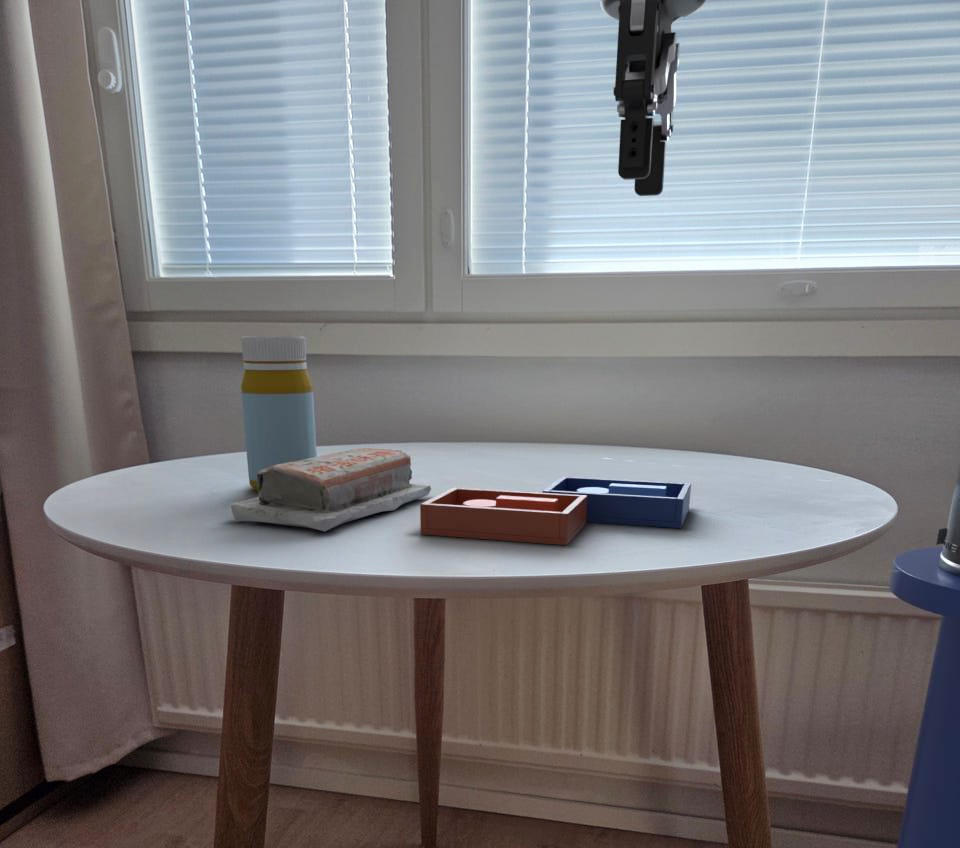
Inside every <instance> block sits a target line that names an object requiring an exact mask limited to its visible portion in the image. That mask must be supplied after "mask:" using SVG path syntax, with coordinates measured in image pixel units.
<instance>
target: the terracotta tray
mask: <svg viewBox="0 0 960 848" xmlns="http://www.w3.org/2000/svg"><path fill="white" fill-rule="evenodd" d="M501 495H502V496H518V497H534V498H551V499H558V512H553V511H538V510H522V509H507V508H492V507H476V506H463V502H465V501H469V500H479V499H484V500H494V501H496V498H497V497H499V496H501ZM419 511H420V512H419V513H420V517H419V519H420V522H419V523H420V535H424V536H438V537H451V538H464V539H479V540H489V541H490V540H491V541H503V542H504V541H505V542H517V543H529V544H530V543H531V544H542V545H543V544H544V545H555V546H567V545H568V544H569V543H570V542H572V540H573V539H574V538H575V537H576V535H578V533H580V531H582V529H583V528H585V526H586V525H587V522H586V515H587V495H572V494H555V493H542V492H537V491H522V490H521V491H518V490H503V489H501V490H500V489H486V488H467V487H451V488H448V489H447V490H445V491H444V492H442V493H440V494H438V495H435V496H434V497H432V498H429V499H427V500H425V501H424V502H422V503H420V505H419Z"/></svg>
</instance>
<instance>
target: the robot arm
mask: <svg viewBox="0 0 960 848" xmlns="http://www.w3.org/2000/svg"><path fill="white" fill-rule="evenodd" d="M705 2H706V0H599V4H600V8H601V10H602V11H603V13H604V14H605V15H606V16H608V17H610V18H611V19H614V20H615V21H618V30H617V48H616V66H615V80H614V81H615V83H614V87H613V96H614V100H615V102H618V103H617V105H616V112H617V113H618V118H619V119H620V129H619V149H618V166H617V167H618V168H617V173H618V176H619V177H620V178H621V179H622V180H626V181H627V180H628V181H629V180H634V192H635V194H636V195H637V196H639V197H652V196H659V195H661V194H662V192H663V190H664V180H665V166H666V151H667V150H666V149H667V143H668V142H669V139H670V138H672V133H673V132H674V124H673V118H674V109H675V105H676V100H677V71H678V68H679V64H680V55H681V54H680V51H681V50H680V48H681V46H680V45H681V44H680V42H677V32H676V31H673V32H672V24H673V23H675V21H676V20H678V19H680V18H686V17H689V16H691V15H693V14H694V13H697V12H698V11H699V10H700V9H701V8H702V7H703V5H704V4H705ZM655 115H659V116H660V117H661V118H660V120H654V118H653V117H654V116H655ZM949 509H950V510H949V515H948V521H947V527H944V528H938V533H937V539H936V543H935V545H942V547H943V551H942V552H941V555H940V560H939V566H940V567H941V568H942V569H944V570H945V571H947V572H949V573H952V574H954V575H957V576H960V462H959V463H958V468H957V474H956V478H955V484H954V490H953V494H952V500H951V505H950V508H949Z"/></svg>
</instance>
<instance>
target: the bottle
mask: <svg viewBox="0 0 960 848" xmlns="http://www.w3.org/2000/svg"><path fill="white" fill-rule="evenodd" d="M240 340H241V341H240V342H241V350H242V351H241V352H242V359H243V361H244V362H243V370H244V373H243V378H242V381H241V385H240V388H241V389H240V390H241V392H240V393H241V404H242V415H243V427H244V438H245V449H246V460H247V472H248V482H249V486H250V487H251V488H252V489H253V490H254V491H255V492H256V493H259V491H258V485H257V480H256V478H257V474H258V473H259V471H260V470H263V469H265V468H268V467H270V466H274V465H277V464H283V463H288V462H293V461H299V460H304V459H309V458H314V457H318V452H317V438H316V437H317V433H316V420H315V419H316V418H315V417H316V416H315V402H314V401H315V400H314V390H313V389H314V388H313V383H312V381H311V378H310V374H309V373H308V370H307V369H308V367H307V366H308V364H307V357H308V356H307V342H306V340H307V339H306V336H299V335H298V336H297V335H296V336H295V335H294V336H293V335H274V336H273V335H254V336H253V335H252V336H251V335H250V336H249V335H248V336H247V335H245V336H243V335H242V336H241V339H240Z"/></svg>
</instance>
